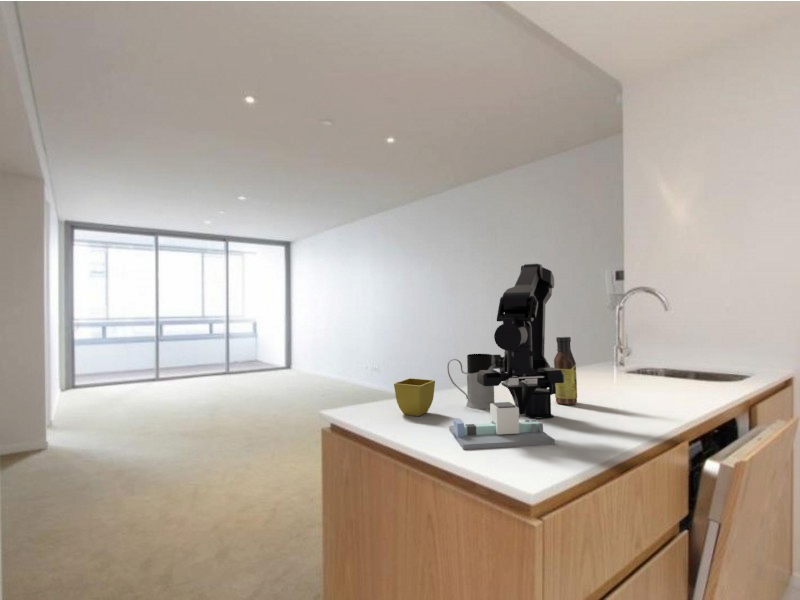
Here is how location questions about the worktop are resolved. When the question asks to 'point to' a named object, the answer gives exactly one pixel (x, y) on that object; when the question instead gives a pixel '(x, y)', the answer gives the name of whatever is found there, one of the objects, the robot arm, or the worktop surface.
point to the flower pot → (414, 395)
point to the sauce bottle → (565, 372)
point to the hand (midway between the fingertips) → (520, 414)
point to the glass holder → (476, 392)
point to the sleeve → (505, 417)
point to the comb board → (499, 435)
